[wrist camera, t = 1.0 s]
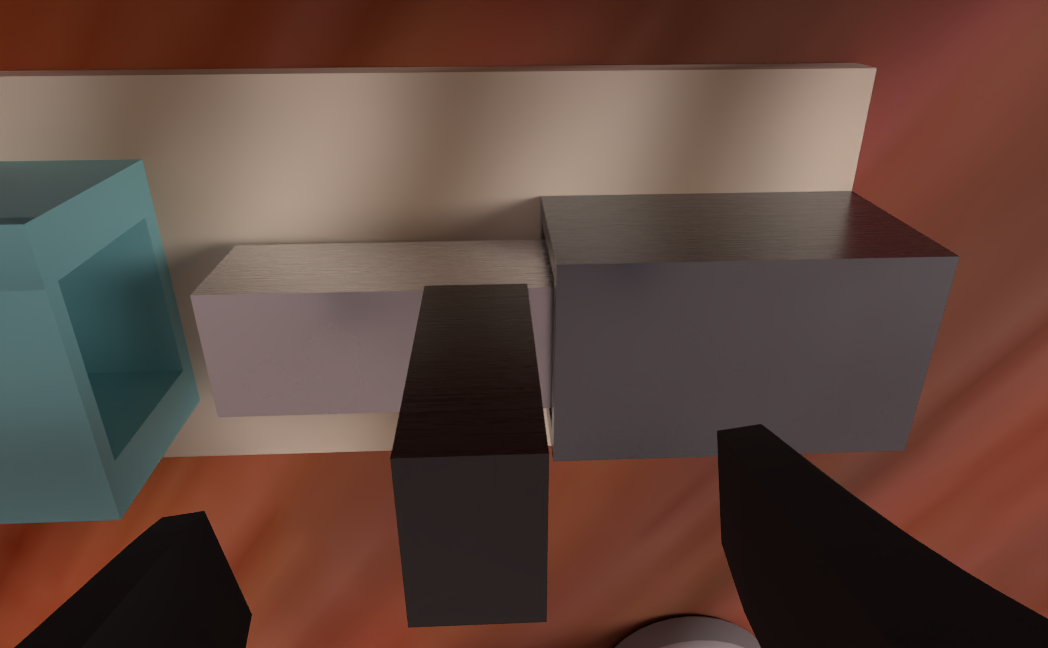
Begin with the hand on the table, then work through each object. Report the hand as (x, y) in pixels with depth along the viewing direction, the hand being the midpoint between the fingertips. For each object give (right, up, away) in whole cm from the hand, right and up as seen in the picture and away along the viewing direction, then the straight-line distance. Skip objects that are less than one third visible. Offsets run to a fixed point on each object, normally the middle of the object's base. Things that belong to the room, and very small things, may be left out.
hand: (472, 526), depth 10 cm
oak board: (-1, +4, +9) cm, 10 cm away
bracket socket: (-10, +4, +8) cm, 13 cm away
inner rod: (+1, +4, +7) cm, 8 cm away
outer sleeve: (+5, +4, +9) cm, 11 cm away
